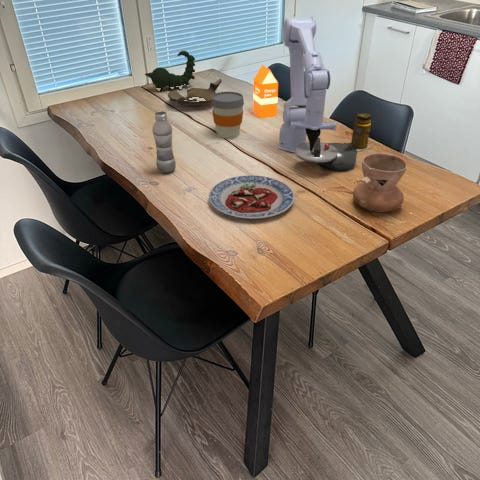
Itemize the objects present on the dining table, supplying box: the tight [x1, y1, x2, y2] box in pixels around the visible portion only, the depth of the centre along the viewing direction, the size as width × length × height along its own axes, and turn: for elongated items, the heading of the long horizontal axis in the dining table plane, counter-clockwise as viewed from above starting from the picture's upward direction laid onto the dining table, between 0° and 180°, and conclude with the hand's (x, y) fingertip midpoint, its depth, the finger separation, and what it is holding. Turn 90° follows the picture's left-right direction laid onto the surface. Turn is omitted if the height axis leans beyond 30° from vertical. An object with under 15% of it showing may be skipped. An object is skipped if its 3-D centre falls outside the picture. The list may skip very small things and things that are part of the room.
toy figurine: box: [144, 50, 196, 89], centre depth 224 cm, size 9×19×25 cm
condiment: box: [348, 112, 373, 152], centre depth 168 cm, size 7×8×12 cm
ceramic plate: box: [208, 174, 296, 220], centre depth 138 cm, size 26×26×3 cm
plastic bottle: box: [152, 110, 177, 174], centre depth 149 cm, size 6×7×20 cm
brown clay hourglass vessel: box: [352, 152, 408, 213], centre depth 133 cm, size 18×14×14 cm
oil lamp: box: [167, 78, 223, 107], centre depth 210 cm, size 22×30×8 cm
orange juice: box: [252, 64, 279, 119], centre depth 194 cm, size 8×9×20 cm
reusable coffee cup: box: [210, 91, 245, 139], centre depth 177 cm, size 13×12×15 cm
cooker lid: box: [294, 137, 338, 164], centre depth 153 cm, size 16×14×4 cm
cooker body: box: [317, 142, 358, 173], centre depth 159 cm, size 16×18×5 cm
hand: (311, 150), depth 151 cm, fingers closed
